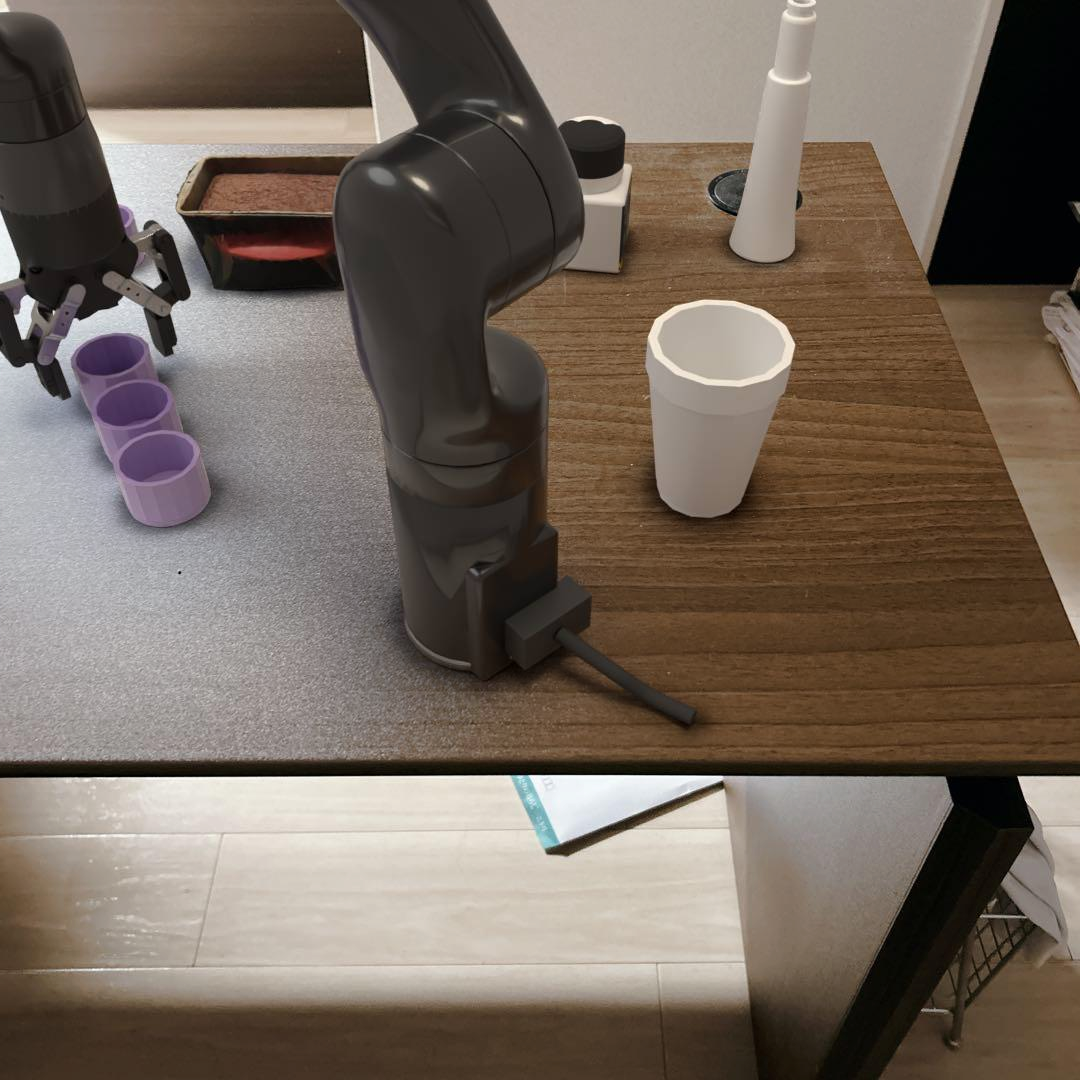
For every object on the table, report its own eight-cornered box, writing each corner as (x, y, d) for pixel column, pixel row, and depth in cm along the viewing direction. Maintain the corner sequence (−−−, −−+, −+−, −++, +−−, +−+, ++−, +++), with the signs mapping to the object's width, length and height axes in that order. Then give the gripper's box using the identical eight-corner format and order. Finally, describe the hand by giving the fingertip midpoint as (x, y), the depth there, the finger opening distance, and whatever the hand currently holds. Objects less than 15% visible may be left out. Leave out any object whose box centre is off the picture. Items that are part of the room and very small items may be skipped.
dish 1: (174, 398, 89) (162, 357, 86) (106, 429, 87) (91, 388, 84) (140, 364, 92) (127, 323, 89) (73, 393, 90) (58, 352, 87)
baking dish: (238, 226, 111) (198, 133, 103) (413, 209, 108) (385, 113, 100) (197, 320, 102) (151, 226, 94) (387, 306, 99) (355, 207, 91)
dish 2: (198, 447, 85) (187, 406, 82) (128, 481, 83) (113, 440, 80) (162, 410, 88) (150, 369, 85) (92, 442, 86) (77, 400, 83)
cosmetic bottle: (784, 269, 102) (830, 20, 86) (720, 254, 104) (754, 8, 88) (801, 236, 106) (848, -8, 90) (739, 223, 108) (774, -19, 92)
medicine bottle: (620, 275, 101) (628, 149, 93) (541, 268, 102) (542, 142, 94) (628, 233, 106) (636, 110, 98) (553, 227, 107) (555, 104, 98)
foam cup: (728, 433, 86) (751, 288, 77) (789, 512, 80) (822, 365, 71) (615, 463, 84) (624, 317, 75) (669, 547, 78) (687, 400, 69)
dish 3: (225, 501, 81) (214, 460, 78) (152, 539, 79) (137, 498, 76) (186, 460, 84) (174, 419, 81) (114, 495, 82) (99, 454, 79)
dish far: (156, 261, 103) (145, 221, 100) (96, 284, 100) (83, 244, 97) (127, 235, 106) (115, 196, 103) (68, 257, 103) (55, 218, 100)
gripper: (-31, 241, 71) (47, 435, 83) (174, 170, 78) (220, 359, 89) (-75, 194, 75) (6, 385, 87) (124, 129, 81) (174, 316, 93)
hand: (114, 372), depth 88 cm, fingers open, 8 cm apart
